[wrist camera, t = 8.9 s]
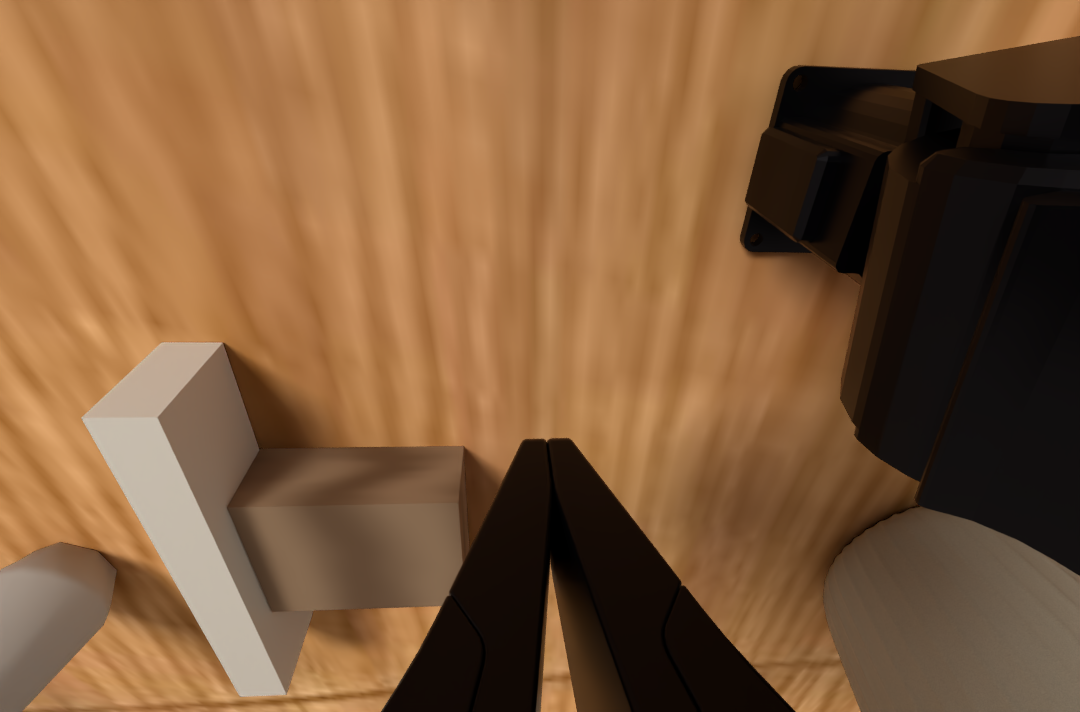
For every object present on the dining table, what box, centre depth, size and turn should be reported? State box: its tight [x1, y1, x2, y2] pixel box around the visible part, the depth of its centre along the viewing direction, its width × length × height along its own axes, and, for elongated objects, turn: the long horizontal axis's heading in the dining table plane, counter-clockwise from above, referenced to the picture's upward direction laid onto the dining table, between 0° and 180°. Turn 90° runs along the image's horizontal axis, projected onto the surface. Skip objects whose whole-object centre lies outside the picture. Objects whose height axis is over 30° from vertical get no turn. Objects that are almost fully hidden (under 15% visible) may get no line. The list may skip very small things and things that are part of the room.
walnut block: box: [227, 446, 469, 612], centre depth 27 cm, size 10×8×4 cm
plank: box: [82, 342, 314, 697], centre depth 25 cm, size 2×20×5 cm, turn 178°
